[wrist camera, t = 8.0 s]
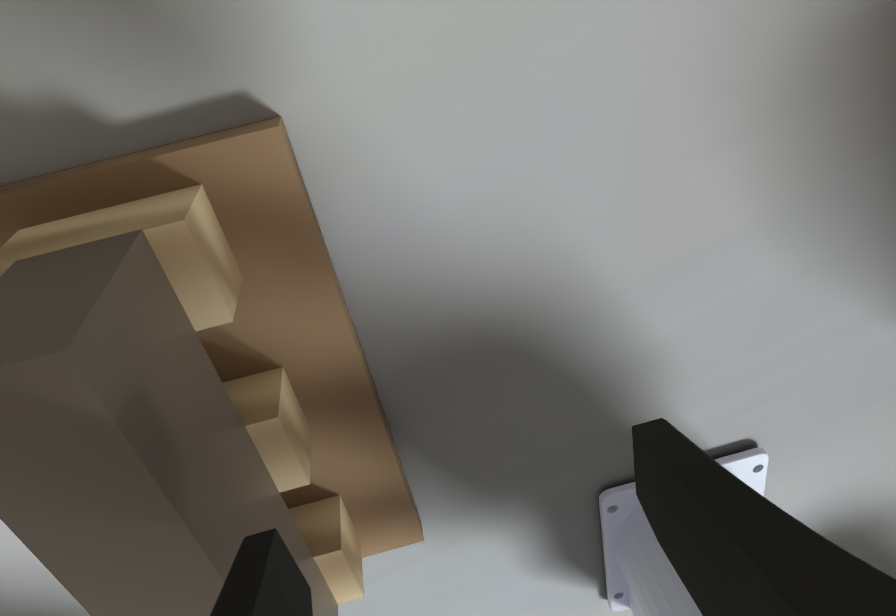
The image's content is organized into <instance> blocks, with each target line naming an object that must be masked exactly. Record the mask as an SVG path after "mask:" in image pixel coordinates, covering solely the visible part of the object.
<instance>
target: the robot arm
mask: <svg viewBox="0 0 896 616" xmlns="http://www.w3.org/2000/svg"><path fill="white" fill-rule="evenodd" d="M632 435H633V452H634V469H635V482H632V483H628V484H625V485H621V486H617V487H614V488H610V489H607V490H605V491H604V492H602V493H601V495H600V496H599V507H600V518H601V529H602V541H603V552H604V563H605V574H606V586H607V597H608V604H609V606H610V609H611V610H612V611H616V612H618V611H622V610H626V609H629V608H630V609H631V611H632V613H633V615H634V616H896V579H894V578H892V577H890V576H889V575H887V574H885V573H883V572H881V571H880V570H878V569H876V568H874V567H872V566H871V565H869V564H867V563H866V562H864V561H862V560H861V559H859V558H857V557H855V556H854V555H852V554H850V553H849V552H847V551H845V550H844V549H842V548H840V547H839V546H837V545H835V544H834V543H832V542H831V541H829V540H827V539H826V538H824V537H823V536H821V535H819V534H818V533H816V532H815V531H813V530H812V529H810V528H809V527H807V526H806V525H804V524H803V523H801V522H800V521H798V520H797V519H795V518H794V517H792V516H791V515H789V514H788V513H786V512H785V511H783V510H782V509H780V508H779V507H777V506H776V505H775V504H773V503H772V502H770V501H769V500H767V499H766V498H765V497H763V496H764V488H765V481H766V474H767V466H768V459H769V456H768V454H767V453H766V452H765V450H764V449H763V448H753V449H750V450H746V451H743V452H739V453H736V454H732V455H728V456H725V457H721V458H718V459H713V458H711V457H710V456H709V455H708V454H706V453H705V452H704V451H703V450H701V449H700V448H699V447H698V446H696V445H695V444H694V443H693V442H692V441H690V440H689V439H688V438H687V437H685V436H684V435H683V434H682V433H681V432H679V431H678V430H677V429H676V428H675V427H674V426H672V425H671V424H670V423H669V422H668V421H666V420H664V419H663V418H660V419H656V420H653V421H649V422H646V423H642V424H639V425H635V426H632ZM210 616H313V610H312V597H311V588H310V586H309V584H308V583H307V581H306V579H305V577H304V576H303V574H302V572H301V570H300V569H299V567H298V565H297V564H296V562H295V560H294V558H293V557H292V555H291V553H290V552H289V550H288V548H287V546H286V545H285V543H284V541H283V540H282V538H281V536H280V534H279V533H278V531H277V529H276V528H274V529H271V530H267V531H263V532H260V533H256V534H253V535H249V536H246V537H245V538H244V539H243V541H242V543H241V545H240V547H239V550H238V552H237V554H236V557H235V559H234V561H233V564H232V566H231V568H230V571H229V573H228V575H227V577H226V580H225V582H224V584H223V587H222V589H221V591H220V593H219V596H218V598H217V600H216V602H215V605H214V607H213V609H212V611H211V614H210Z"/></svg>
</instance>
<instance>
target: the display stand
mask: <svg viewBox="0 0 896 616" xmlns="http://www.w3.org/2000/svg"><path fill="white" fill-rule="evenodd" d="M140 229H142V230H143V232H144V234H145V236H146V238H147V239H148V241H149V243H150V245H151V247H152V249H153V251H154V253H155V255H156V257H157V259H158V261H159V262H160V264H161V266H162V268H163V270H164V272H165V274H166V276H167V278H168V280H169V282H170V284H171V285H172V287H173V289H174V291H175V293H176V295H177V297H178V299H179V301H180V303H181V305H182V307H183V308H184V310H185V312H186V314H187V316H188V318H189V320H190V322H191V324H192V326H193V328H194V330H195V331H196V333H197V335H198V337H199V339H200V341H201V343H202V345H203V347H204V349H205V351H206V353H207V354H208V356H209V358H210V360H211V362H212V364H213V366H214V368H215V370H216V372H217V374H218V376H219V377H220V379H221V381H222V383H223V385H224V387H225V389H226V391H227V393H228V395H229V397H230V399H231V400H232V402H233V404H234V406H235V408H236V410H237V412H238V414H239V416H240V418H241V420H242V422H243V423H244V425H245V427H246V429H247V431H248V433H249V435H250V437H251V439H252V441H253V443H254V445H255V446H256V448H257V450H258V452H259V454H260V456H261V458H262V460H263V462H264V464H265V466H266V468H267V469H268V471H269V473H270V475H271V477H272V479H273V481H274V483H275V485H276V487H277V489H278V491H279V492H280V494H281V496H282V498H283V500H284V502H285V504H286V506H287V508H288V510H289V512H290V514H291V515H292V517H293V519H294V521H295V523H296V525H297V527H298V529H299V531H300V533H301V535H302V537H303V538H304V540H305V542H306V544H307V546H308V548H309V550H310V552H311V554H312V556H313V558H314V560H315V561H316V563H317V565H318V567H319V569H320V571H321V573H322V575H323V577H324V579H325V581H326V583H327V584H328V586H329V588H330V590H331V592H332V594H333V596H334V598H335V600H336V602H337V604H341V603H345V602H348V601H352V600H356V599H359V598H363V597H364V589H363V572H362V558H363V557H367V556H370V555H374V554H377V553H381V552H384V551H388V550H392V549H395V548H399V547H402V546H406V545H410V544H413V543H417V542H420V541H424V537H423V531H422V525H421V520H420V517H419V514H418V511H417V509H416V506H415V503H414V500H413V497H412V494H411V491H410V488H409V485H408V483H407V480H406V477H405V474H404V471H403V468H402V465H401V462H400V459H399V456H398V454H397V451H396V448H395V445H394V442H393V439H392V436H391V433H390V430H389V427H388V425H387V422H386V419H385V416H384V413H383V410H382V407H381V404H380V401H379V398H378V396H377V393H376V390H375V387H374V384H373V381H372V378H371V375H370V372H369V370H368V367H367V364H366V361H365V358H364V355H363V352H362V349H361V346H360V343H359V341H358V338H357V335H356V332H355V329H354V326H353V323H352V320H351V317H350V314H349V312H348V309H347V306H346V303H345V300H344V297H343V294H342V291H341V288H340V285H339V283H338V280H337V277H336V274H335V271H334V268H333V265H332V262H331V259H330V257H329V254H328V251H327V248H326V245H325V242H324V239H323V236H322V233H321V230H320V228H319V225H318V222H317V219H316V216H315V213H314V210H313V207H312V204H311V201H310V199H309V196H308V193H307V190H306V187H305V184H304V181H303V178H302V175H301V172H300V170H299V167H298V164H297V161H296V158H295V155H294V152H293V149H292V146H291V144H290V141H289V138H288V135H287V132H286V129H285V126H284V123H283V120H282V117H277V118H273V119H269V120H265V121H261V122H257V123H253V124H249V125H245V126H241V127H237V128H233V129H228V130H224V131H220V132H216V133H212V134H208V135H204V136H200V137H196V138H192V139H188V140H184V141H180V142H176V143H172V144H168V145H164V146H160V147H156V148H152V149H147V150H143V151H139V152H135V153H131V154H127V155H123V156H119V157H115V158H111V159H107V160H103V161H99V162H95V163H91V164H87V165H83V166H79V167H75V168H71V169H66V170H62V171H58V172H54V173H50V174H46V175H42V176H38V177H34V178H30V179H26V180H22V181H18V182H14V183H10V184H6V185H2V186H0V277H1V276H2V274H3V273H4V272H5V271H6V270H7V269H8V268H9V267H10V266H11V265H12V264H13V263H14V262H15V261H16V260H20V259H24V258H28V257H32V256H36V255H40V254H44V253H48V252H52V251H56V250H60V249H64V248H68V247H72V246H76V245H80V244H84V243H88V242H92V241H96V240H100V239H104V238H108V237H112V236H116V235H120V234H124V233H128V232H132V231H136V230H140Z"/></svg>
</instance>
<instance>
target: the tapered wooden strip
mask: <svg viewBox="0 0 896 616" xmlns="http://www.w3.org/2000/svg"><path fill="white" fill-rule="evenodd" d="M0 519H1V520H2V521H3V522H4V523H5V524H6V525H7V526H8V527H9V528H10V529H11V531H12V532H13V533H14V534H15V535H16V536H17V537H18V538H19V539H20V540H21V541H22V542H23V543H24V544H25V546H26V547H27V548H28V549H29V550H30V551H31V552H32V553H33V554H34V555H35V556H36V557H37V558H38V559H39V560H40V562H41V563H42V564H43V565H44V566H45V567H46V568H47V569H48V570H49V571H50V572H51V573H52V574H53V575H54V576H55V578H56V579H57V580H58V581H59V582H60V583H61V584H62V585H63V586H64V587H65V588H66V589H67V590H68V591H69V592H70V594H71V595H72V596H73V597H74V598H75V599H76V600H77V601H78V602H79V603H80V604H81V605H82V606H83V607H84V608H85V610H86V611H87V612H88V613H89V614H90V615H91V616H210V614H211V611H212V609H213V607H214V605H215V602H216V600H217V598H218V596H219V593H220V591H221V589H222V587H223V584H224V582H225V580H226V577H227V575H228V573H229V571H230V568H231V566H232V564H233V561H234V559H235V557H236V554H237V552H238V550H239V547H240V545H241V543H242V541H243V539H244V538H245V537H246V536H249V535H253V534H256V533H260V532H263V531H267V530H271V529H274V528H276V529H277V531H278V533H279V534H280V536H281V538H282V540H283V541H284V543H285V545H286V546H287V548H288V550H289V552H290V553H291V555H292V557H293V558H294V560H295V562H296V564H297V565H298V567H299V569H300V570H301V572H302V574H303V576H304V577H305V579H306V581H307V583H308V584H309V586H310V588H311V597H312V610H313V616H338V604H337V602H336V600H335V598H334V596H333V594H332V592H331V590H330V588H329V586H328V584H327V583H326V581H325V579H324V577H323V575H322V573H321V571H320V569H319V567H318V565H317V563H316V561H315V560H314V558H313V556H312V554H311V552H310V550H309V548H308V546H307V544H306V542H305V540H304V538H303V537H302V535H301V533H300V531H299V529H298V527H297V525H296V523H295V521H294V519H293V517H292V515H291V514H290V512H289V510H288V508H287V506H286V504H285V502H284V500H283V498H282V496H281V494H280V492H279V491H278V489H277V487H276V485H275V483H274V481H273V479H272V477H271V475H270V473H269V471H268V469H267V468H266V466H265V464H264V462H263V460H262V458H261V456H260V454H259V452H258V450H257V448H256V446H255V445H254V443H253V441H252V439H251V437H250V435H249V433H248V431H247V429H246V427H245V425H244V423H243V422H242V420H241V418H240V416H239V414H238V412H237V410H236V408H235V406H234V404H233V402H232V400H231V399H230V397H229V395H228V393H227V391H226V389H225V387H224V385H223V383H222V381H221V379H220V377H219V376H218V374H217V372H216V370H215V368H214V366H213V364H212V362H211V360H210V358H209V356H208V354H207V353H206V351H205V349H204V347H203V345H202V343H201V341H200V339H199V337H198V335H197V333H196V331H195V330H194V328H193V326H192V324H191V322H190V320H189V318H188V316H187V314H186V312H185V310H184V308H183V307H182V305H181V303H180V301H179V299H178V297H177V295H176V293H175V291H174V289H173V287H172V285H171V284H170V282H169V280H168V278H167V276H166V274H165V272H164V270H163V268H162V266H161V264H160V262H159V261H158V259H157V257H156V255H155V253H154V251H153V249H152V247H151V245H150V243H149V241H148V239H147V238H146V236H145V234H144V232H143V230H142V229H140V230H136V231H132V232H128V233H124V234H120V235H116V236H112V237H108V238H104V239H100V240H96V241H92V242H88V243H84V244H80V245H76V246H72V247H68V248H64V249H60V250H56V251H52V252H48V253H44V254H40V255H36V256H32V257H28V258H24V259H20V260H16V261H15V262H14V263H13V264H12V265H11V266H10V267H9V268H8V269H7V270H6V271H5V272H4V273H3V274H2V276H1V277H0Z"/></svg>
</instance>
